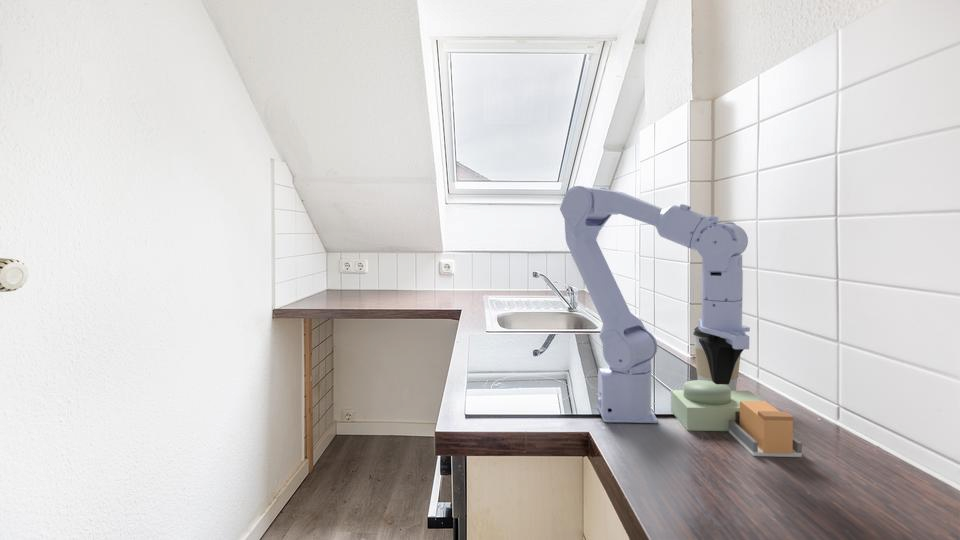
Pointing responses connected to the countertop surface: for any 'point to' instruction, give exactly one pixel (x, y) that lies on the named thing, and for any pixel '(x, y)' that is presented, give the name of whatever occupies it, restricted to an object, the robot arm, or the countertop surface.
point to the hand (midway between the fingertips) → (720, 383)
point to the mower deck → (718, 413)
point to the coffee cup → (702, 362)
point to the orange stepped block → (767, 426)
